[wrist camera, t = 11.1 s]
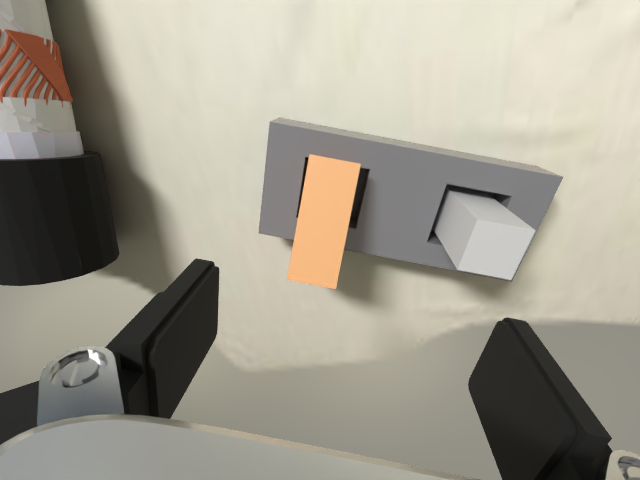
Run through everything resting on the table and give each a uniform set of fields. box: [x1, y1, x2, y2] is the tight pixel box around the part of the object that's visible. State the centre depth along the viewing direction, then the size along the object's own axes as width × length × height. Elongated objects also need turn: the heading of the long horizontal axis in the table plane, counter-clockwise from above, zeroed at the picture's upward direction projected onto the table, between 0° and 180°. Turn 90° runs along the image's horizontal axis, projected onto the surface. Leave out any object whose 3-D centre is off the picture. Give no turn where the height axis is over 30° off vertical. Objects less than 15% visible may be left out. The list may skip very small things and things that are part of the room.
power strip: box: [259, 118, 563, 281], centre depth 28 cm, size 24×10×10 cm, turn 80°
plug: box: [287, 154, 361, 289], centre depth 28 cm, size 4×4×10 cm
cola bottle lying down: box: [0, 0, 119, 286], centre depth 26 cm, size 10×34×10 cm, turn 179°
